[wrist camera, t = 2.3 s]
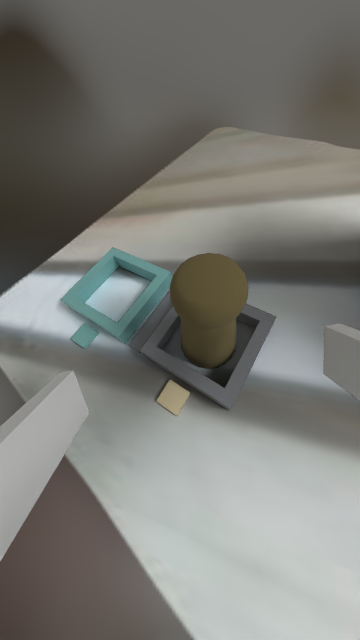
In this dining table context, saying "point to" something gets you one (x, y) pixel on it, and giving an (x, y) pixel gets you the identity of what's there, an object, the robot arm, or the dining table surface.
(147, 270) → the panel
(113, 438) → the dining table surface
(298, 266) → the dining table surface
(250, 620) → the dining table surface
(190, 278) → the cork
